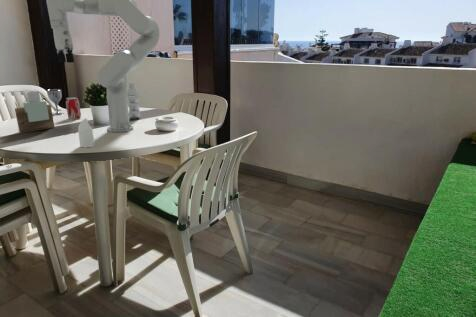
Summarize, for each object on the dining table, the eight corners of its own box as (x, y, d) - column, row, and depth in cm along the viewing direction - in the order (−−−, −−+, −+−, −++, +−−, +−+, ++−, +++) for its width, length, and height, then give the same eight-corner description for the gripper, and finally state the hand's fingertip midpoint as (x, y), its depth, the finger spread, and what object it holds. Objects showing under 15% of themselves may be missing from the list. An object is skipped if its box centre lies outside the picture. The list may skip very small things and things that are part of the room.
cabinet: (49, 119, 178) (44, 91, 174) (29, 122, 172) (24, 93, 167) (45, 117, 181) (41, 90, 177) (26, 120, 175) (21, 92, 171)
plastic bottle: (136, 116, 213) (133, 83, 206) (143, 118, 209) (140, 83, 202) (126, 118, 208) (123, 84, 202) (133, 120, 204) (130, 84, 198)
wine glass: (51, 113, 223) (47, 89, 218) (65, 112, 225) (62, 88, 221) (49, 115, 216) (45, 90, 211) (63, 115, 218) (60, 90, 213)
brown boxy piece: (56, 128, 184) (53, 105, 180) (22, 133, 173) (17, 109, 169) (49, 125, 191) (45, 103, 187) (15, 130, 180) (11, 106, 176)
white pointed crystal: (73, 119, 147) (83, 116, 152) (77, 146, 151) (87, 143, 156) (84, 120, 145) (94, 118, 150) (87, 148, 149) (97, 145, 154)
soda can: (76, 120, 204) (73, 99, 200) (65, 119, 205) (62, 98, 202) (83, 117, 211) (81, 97, 207) (73, 117, 212) (70, 97, 208)
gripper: (75, 23, 163) (81, 62, 168) (60, 25, 175) (67, 61, 180) (58, 23, 158) (65, 63, 163) (44, 25, 170) (51, 62, 175)
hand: (66, 62), depth 172 cm, fingers open, 9 cm apart
